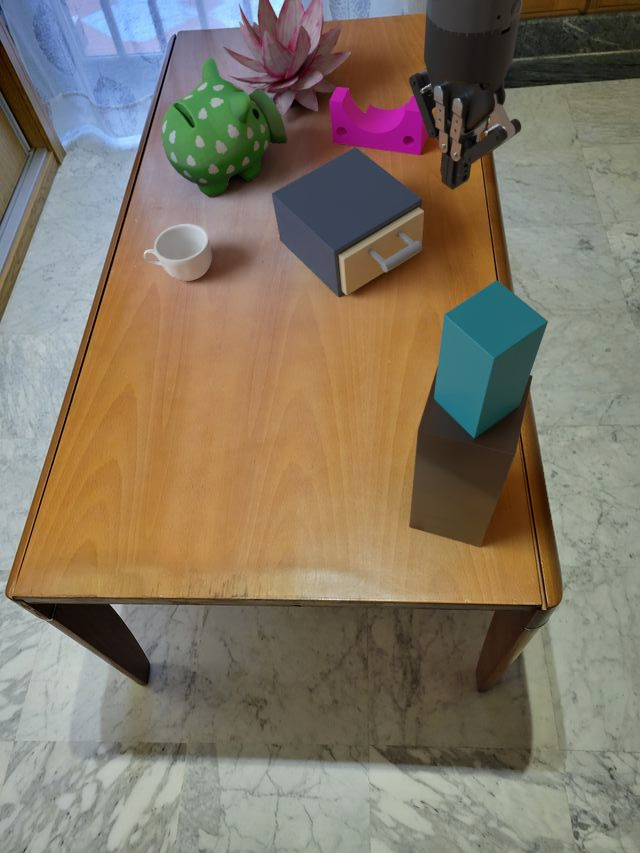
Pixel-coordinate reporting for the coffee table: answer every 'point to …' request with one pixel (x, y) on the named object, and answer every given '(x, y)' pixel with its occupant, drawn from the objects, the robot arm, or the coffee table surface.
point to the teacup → (182, 251)
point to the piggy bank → (220, 132)
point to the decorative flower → (290, 52)
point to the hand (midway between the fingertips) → (454, 182)
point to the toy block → (377, 125)
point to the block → (486, 357)
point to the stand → (461, 471)
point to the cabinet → (338, 211)
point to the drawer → (381, 251)
